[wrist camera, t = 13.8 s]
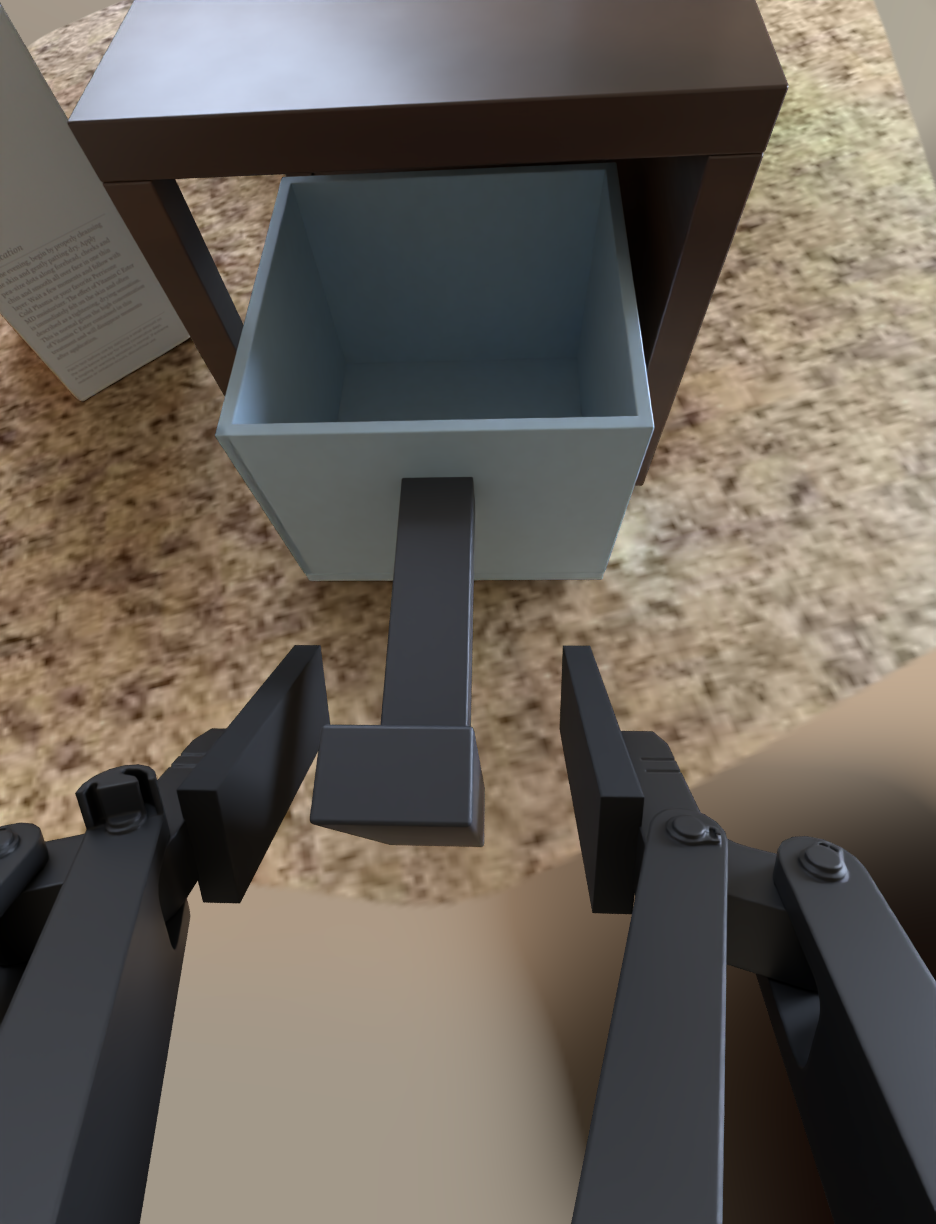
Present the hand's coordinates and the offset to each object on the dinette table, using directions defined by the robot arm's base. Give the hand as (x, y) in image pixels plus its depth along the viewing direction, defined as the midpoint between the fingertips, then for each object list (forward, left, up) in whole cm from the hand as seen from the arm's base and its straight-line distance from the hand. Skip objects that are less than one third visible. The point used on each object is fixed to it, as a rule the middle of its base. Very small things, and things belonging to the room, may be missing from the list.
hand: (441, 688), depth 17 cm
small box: (-25, -10, -3) cm, 27 cm away
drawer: (-6, +2, -3) cm, 7 cm away
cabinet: (-16, +6, -3) cm, 17 cm away
